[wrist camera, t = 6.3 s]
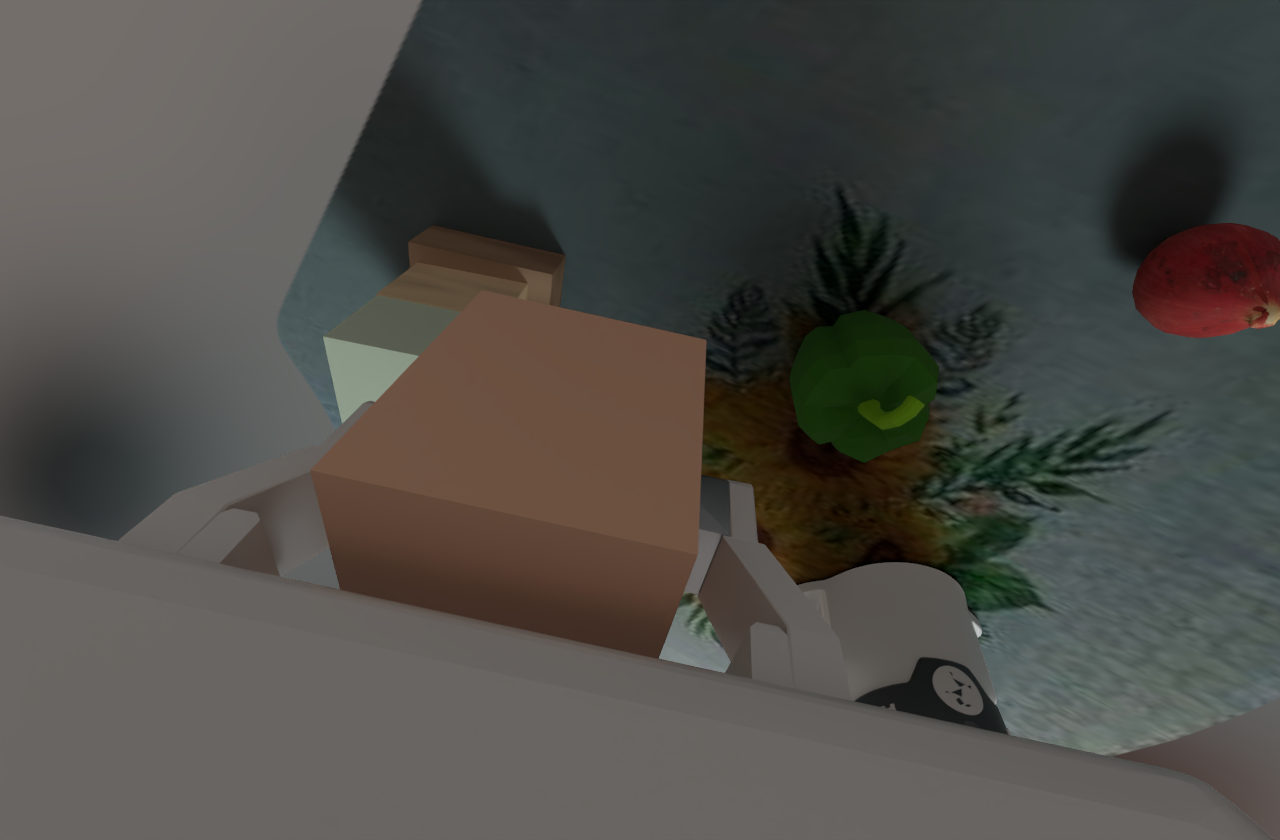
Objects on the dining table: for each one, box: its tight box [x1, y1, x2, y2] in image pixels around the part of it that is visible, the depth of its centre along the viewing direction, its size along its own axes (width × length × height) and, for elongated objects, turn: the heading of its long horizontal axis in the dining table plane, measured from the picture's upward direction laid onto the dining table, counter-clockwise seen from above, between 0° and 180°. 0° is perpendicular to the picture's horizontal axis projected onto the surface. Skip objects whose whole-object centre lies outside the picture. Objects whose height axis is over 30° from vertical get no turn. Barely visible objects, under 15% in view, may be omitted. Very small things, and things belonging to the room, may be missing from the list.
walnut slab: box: [408, 225, 566, 307], centre depth 37 cm, size 9×9×4 cm
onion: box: [1132, 223, 1280, 338], centre depth 28 cm, size 6×6×8 cm
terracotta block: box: [310, 290, 706, 659], centre depth 11 cm, size 5×5×6 cm
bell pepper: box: [789, 310, 939, 463], centre depth 33 cm, size 8×8×10 cm
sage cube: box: [323, 295, 461, 424], centre depth 29 cm, size 7×7×5 cm
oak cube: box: [377, 262, 528, 312], centre depth 33 cm, size 7×7×5 cm
